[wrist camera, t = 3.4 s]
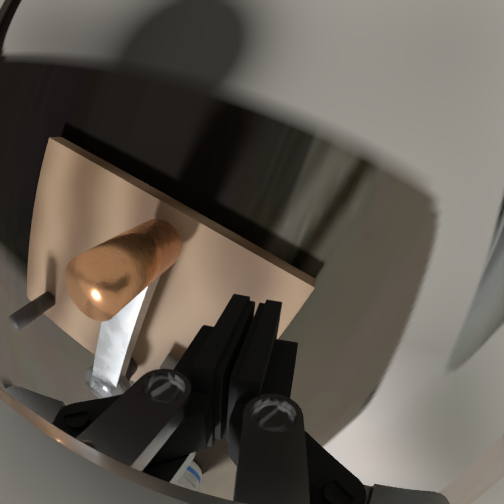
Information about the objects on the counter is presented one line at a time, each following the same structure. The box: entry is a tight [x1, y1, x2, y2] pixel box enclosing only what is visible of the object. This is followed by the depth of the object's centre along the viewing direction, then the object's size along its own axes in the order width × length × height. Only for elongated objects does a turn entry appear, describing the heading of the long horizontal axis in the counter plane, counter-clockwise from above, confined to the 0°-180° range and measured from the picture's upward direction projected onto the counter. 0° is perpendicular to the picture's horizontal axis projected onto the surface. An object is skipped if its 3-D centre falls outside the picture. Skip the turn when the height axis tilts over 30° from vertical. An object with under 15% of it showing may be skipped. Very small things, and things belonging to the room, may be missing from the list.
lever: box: [65, 219, 181, 399], centre depth 18 cm, size 18×4×7 cm, turn 152°
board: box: [9, 137, 315, 382], centre depth 20 cm, size 24×18×7 cm
